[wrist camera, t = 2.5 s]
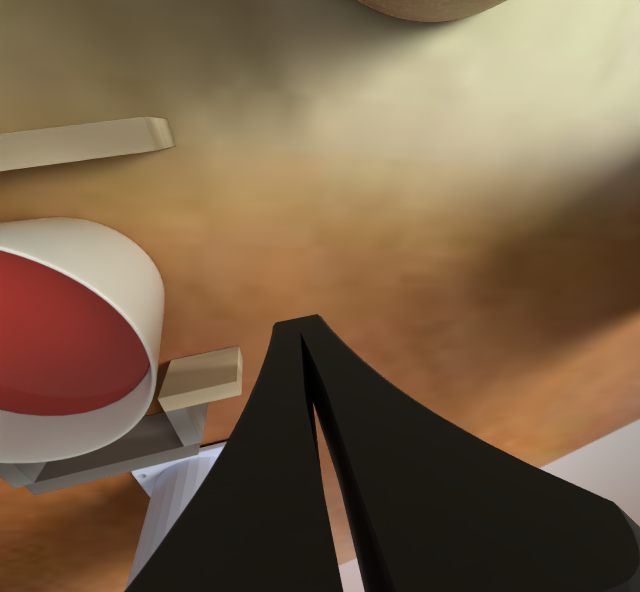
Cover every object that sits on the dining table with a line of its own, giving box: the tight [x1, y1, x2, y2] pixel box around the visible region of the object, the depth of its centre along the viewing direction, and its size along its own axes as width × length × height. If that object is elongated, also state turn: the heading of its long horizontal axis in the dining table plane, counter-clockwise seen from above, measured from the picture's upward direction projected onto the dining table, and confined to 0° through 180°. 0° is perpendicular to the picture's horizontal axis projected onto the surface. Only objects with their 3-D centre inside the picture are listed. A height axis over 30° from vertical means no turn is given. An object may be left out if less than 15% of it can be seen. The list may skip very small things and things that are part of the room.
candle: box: [0, 217, 165, 463], centre depth 12 cm, size 9×9×6 cm
